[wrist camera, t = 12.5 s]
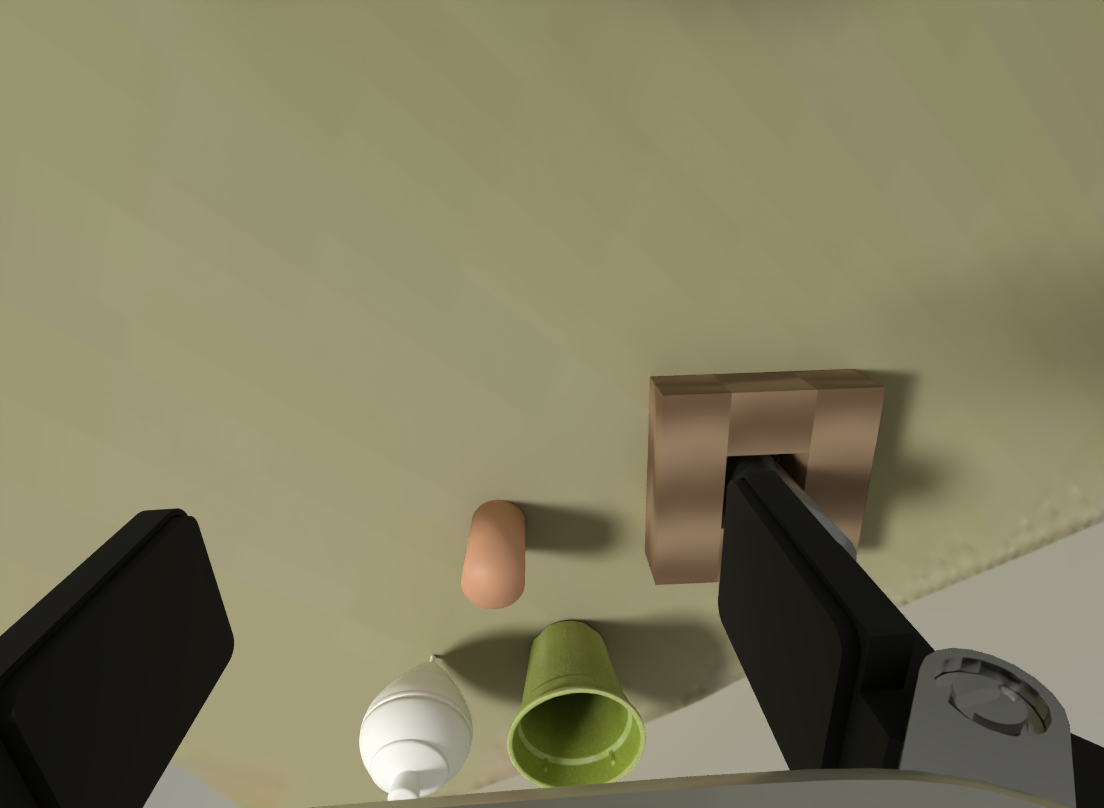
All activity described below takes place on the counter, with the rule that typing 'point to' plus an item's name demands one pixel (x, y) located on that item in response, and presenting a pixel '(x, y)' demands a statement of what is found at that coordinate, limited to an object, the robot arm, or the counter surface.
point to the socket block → (751, 429)
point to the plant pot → (573, 713)
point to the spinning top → (416, 733)
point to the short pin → (495, 556)
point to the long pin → (768, 463)
